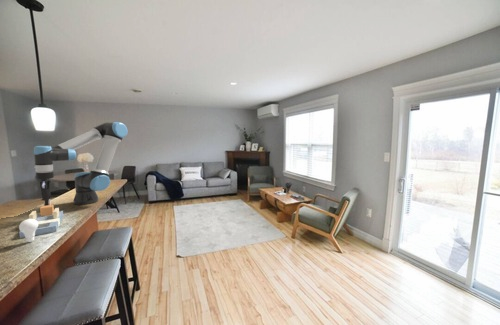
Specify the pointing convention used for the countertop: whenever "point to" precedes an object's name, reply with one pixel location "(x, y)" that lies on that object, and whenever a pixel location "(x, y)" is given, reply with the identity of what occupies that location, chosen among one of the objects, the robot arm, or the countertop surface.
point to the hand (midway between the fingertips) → (47, 210)
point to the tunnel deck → (37, 217)
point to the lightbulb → (29, 229)
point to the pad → (47, 222)
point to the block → (46, 210)
